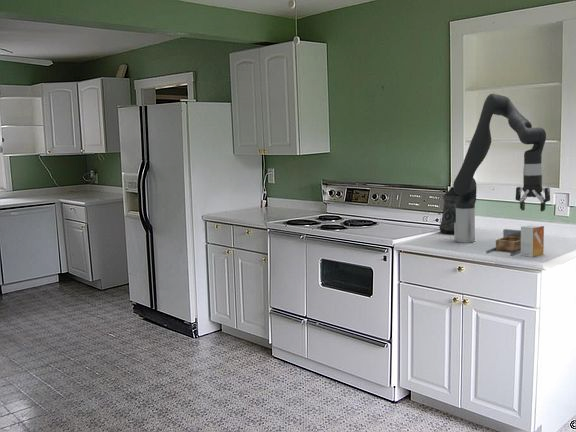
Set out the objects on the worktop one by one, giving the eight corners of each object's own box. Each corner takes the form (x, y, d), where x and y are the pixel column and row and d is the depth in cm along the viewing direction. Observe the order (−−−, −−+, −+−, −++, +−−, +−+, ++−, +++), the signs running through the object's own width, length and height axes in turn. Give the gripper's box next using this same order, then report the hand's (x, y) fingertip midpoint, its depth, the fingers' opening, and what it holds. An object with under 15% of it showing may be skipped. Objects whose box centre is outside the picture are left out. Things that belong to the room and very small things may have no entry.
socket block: (495, 250, 273) (495, 240, 273) (507, 246, 282) (507, 235, 281) (516, 252, 266) (516, 242, 266) (527, 248, 274) (528, 237, 274)
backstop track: (484, 253, 270) (484, 235, 269) (505, 245, 284) (505, 229, 283) (514, 256, 260) (514, 238, 259) (534, 248, 274) (534, 231, 273)
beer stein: (450, 228, 337) (449, 185, 334) (481, 232, 323) (480, 186, 319) (433, 233, 326) (432, 188, 323) (464, 236, 312) (463, 189, 308)
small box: (533, 257, 256) (533, 227, 255) (520, 255, 262) (520, 226, 260) (544, 254, 261) (544, 225, 259) (531, 252, 266) (531, 224, 264)
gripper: (552, 173, 254) (552, 210, 256) (520, 173, 264) (520, 208, 266) (545, 174, 249) (545, 212, 251) (512, 174, 259) (512, 210, 261)
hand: (532, 210), depth 258 cm, fingers open, 8 cm apart
